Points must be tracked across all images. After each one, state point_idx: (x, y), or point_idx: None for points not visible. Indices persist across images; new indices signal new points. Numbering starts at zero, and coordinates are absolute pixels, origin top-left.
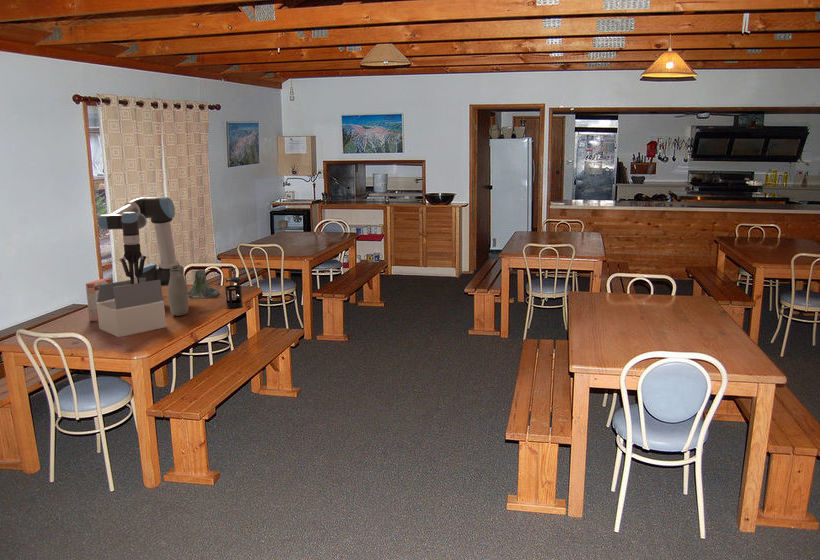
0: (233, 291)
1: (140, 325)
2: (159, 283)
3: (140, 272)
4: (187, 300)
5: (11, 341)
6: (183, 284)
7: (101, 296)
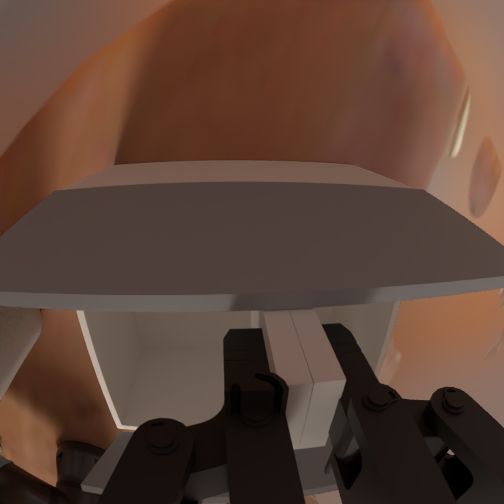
0: None
1: (246, 164)
2: None
3: (180, 482)
4: None
5: (493, 349)
6: None
7: None
